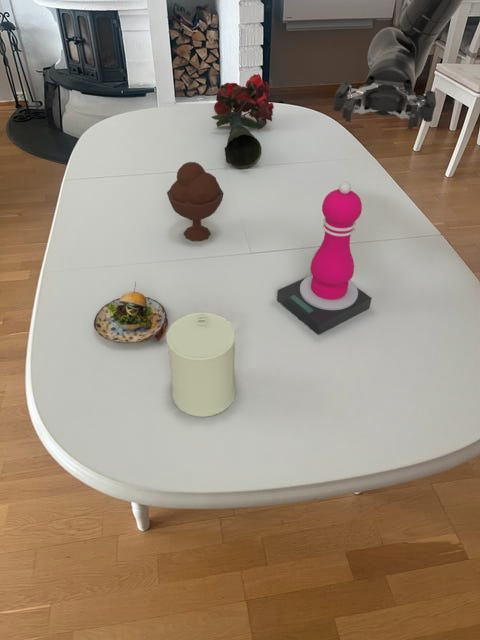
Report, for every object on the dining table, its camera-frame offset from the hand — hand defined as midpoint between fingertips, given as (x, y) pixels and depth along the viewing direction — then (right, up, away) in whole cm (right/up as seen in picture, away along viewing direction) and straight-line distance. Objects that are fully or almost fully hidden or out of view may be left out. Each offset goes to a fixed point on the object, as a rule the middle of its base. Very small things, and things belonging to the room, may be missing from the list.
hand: (379, 118), depth 72 cm
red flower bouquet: (-18, +21, +73) cm, 78 cm away
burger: (-37, -29, +15) cm, 50 cm away
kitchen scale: (-5, -25, +20) cm, 32 cm away
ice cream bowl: (-28, -10, +37) cm, 47 cm away
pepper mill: (-4, -23, +19) cm, 30 cm away
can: (-25, -39, +5) cm, 46 cm away
